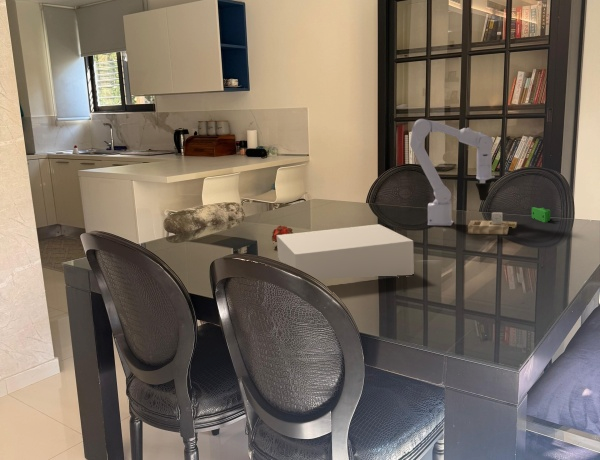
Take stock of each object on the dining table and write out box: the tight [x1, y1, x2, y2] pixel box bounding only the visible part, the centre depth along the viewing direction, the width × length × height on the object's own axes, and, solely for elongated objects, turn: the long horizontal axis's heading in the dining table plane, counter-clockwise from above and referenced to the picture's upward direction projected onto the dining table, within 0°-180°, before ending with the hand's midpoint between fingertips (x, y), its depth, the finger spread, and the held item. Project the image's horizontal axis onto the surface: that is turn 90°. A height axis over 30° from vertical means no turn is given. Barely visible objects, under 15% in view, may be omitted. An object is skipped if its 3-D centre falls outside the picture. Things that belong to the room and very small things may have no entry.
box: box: [276, 223, 415, 280], centre depth 174 cm, size 28×35×11 cm
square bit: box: [491, 211, 503, 225], centre depth 214 cm, size 4×4×7 cm
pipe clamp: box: [531, 206, 551, 224], centre depth 230 cm, size 11×4×5 cm, turn 4°
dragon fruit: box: [271, 225, 294, 242], centre depth 211 cm, size 8×8×12 cm
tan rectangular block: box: [509, 221, 517, 229], centre depth 221 cm, size 6×4×2 cm, turn 63°
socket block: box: [467, 220, 510, 235], centre depth 216 cm, size 14×10×3 cm
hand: (483, 198), depth 230 cm, fingers open, 7 cm apart
